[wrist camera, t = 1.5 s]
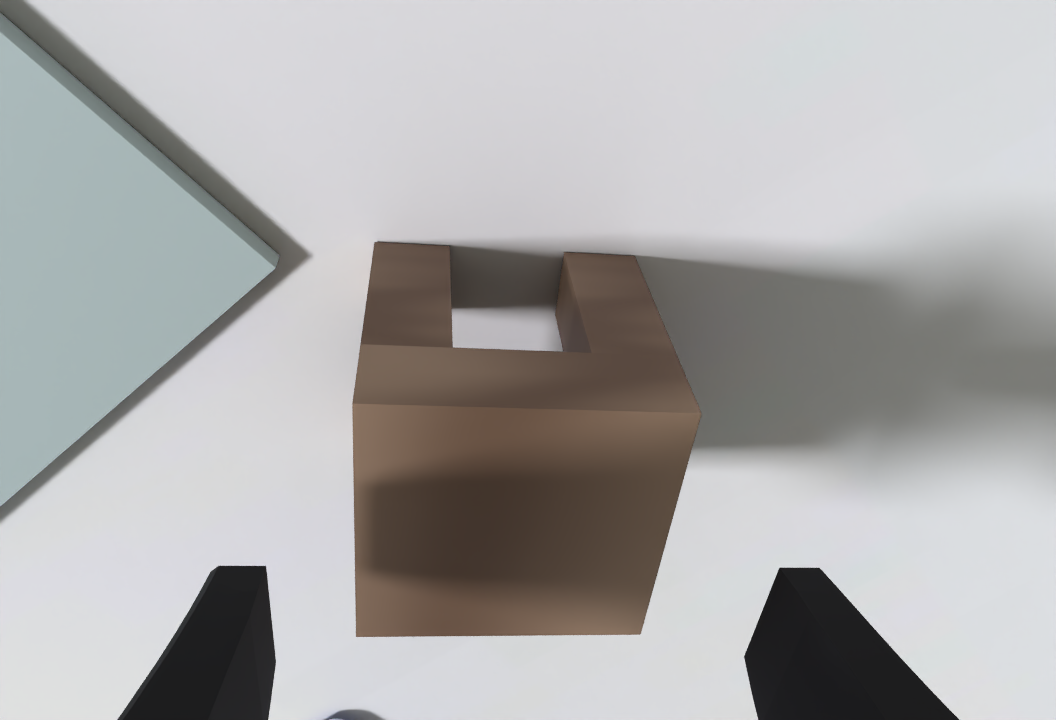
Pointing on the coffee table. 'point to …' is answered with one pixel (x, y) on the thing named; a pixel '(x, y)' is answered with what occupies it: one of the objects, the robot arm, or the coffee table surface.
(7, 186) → the sage board
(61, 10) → the coffee table surface
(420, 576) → the walnut stool
